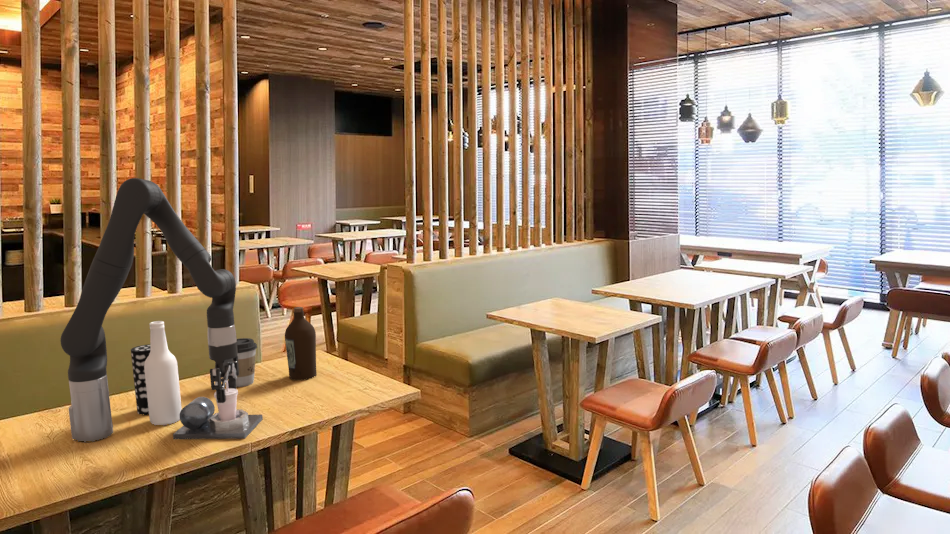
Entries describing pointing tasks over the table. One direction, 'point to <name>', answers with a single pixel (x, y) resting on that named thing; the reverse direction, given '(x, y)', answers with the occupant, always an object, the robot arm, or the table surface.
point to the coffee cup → (246, 361)
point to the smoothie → (228, 404)
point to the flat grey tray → (213, 422)
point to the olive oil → (301, 347)
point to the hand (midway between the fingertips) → (227, 397)
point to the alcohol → (162, 379)
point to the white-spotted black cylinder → (140, 377)
